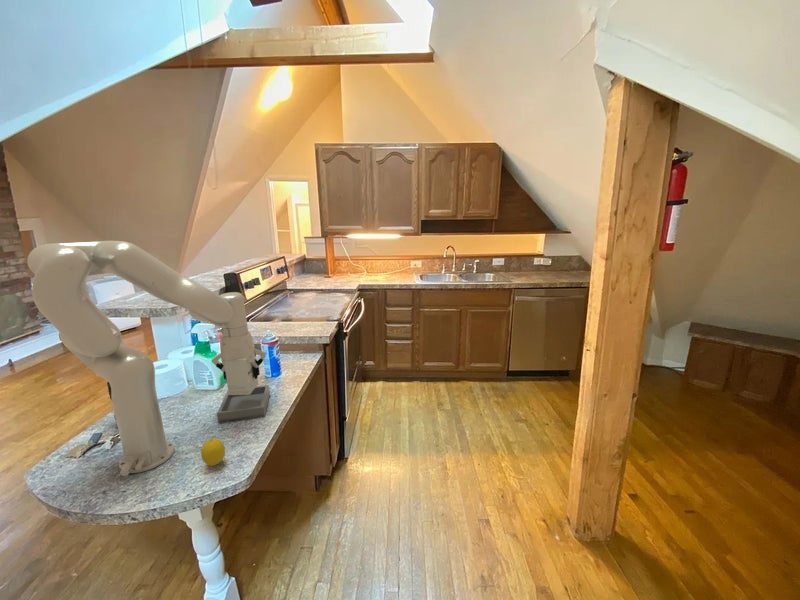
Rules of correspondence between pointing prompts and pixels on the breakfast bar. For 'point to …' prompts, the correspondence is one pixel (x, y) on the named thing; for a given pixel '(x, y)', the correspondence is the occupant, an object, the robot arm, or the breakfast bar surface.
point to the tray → (244, 405)
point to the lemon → (213, 451)
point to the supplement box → (240, 377)
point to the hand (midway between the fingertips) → (242, 378)
